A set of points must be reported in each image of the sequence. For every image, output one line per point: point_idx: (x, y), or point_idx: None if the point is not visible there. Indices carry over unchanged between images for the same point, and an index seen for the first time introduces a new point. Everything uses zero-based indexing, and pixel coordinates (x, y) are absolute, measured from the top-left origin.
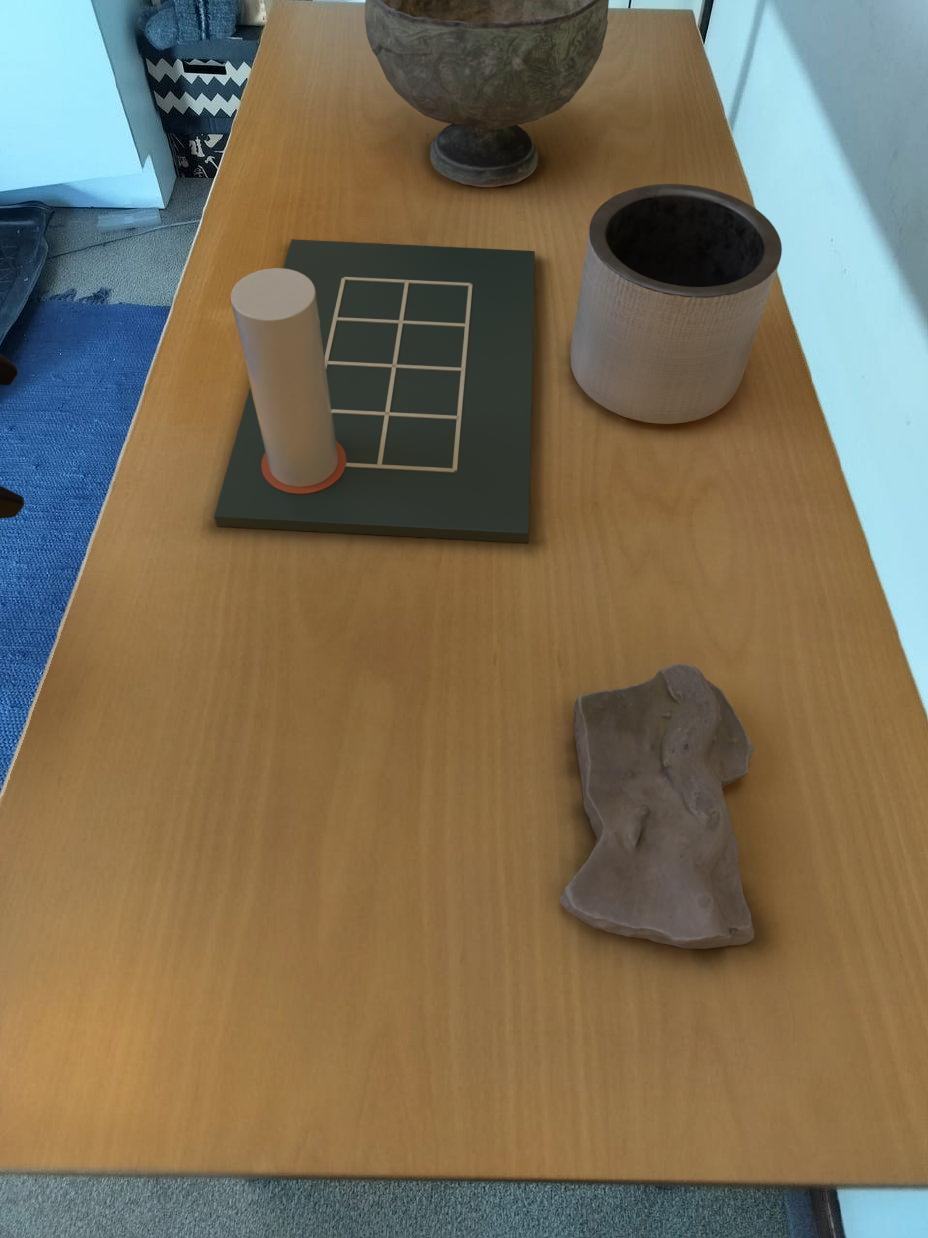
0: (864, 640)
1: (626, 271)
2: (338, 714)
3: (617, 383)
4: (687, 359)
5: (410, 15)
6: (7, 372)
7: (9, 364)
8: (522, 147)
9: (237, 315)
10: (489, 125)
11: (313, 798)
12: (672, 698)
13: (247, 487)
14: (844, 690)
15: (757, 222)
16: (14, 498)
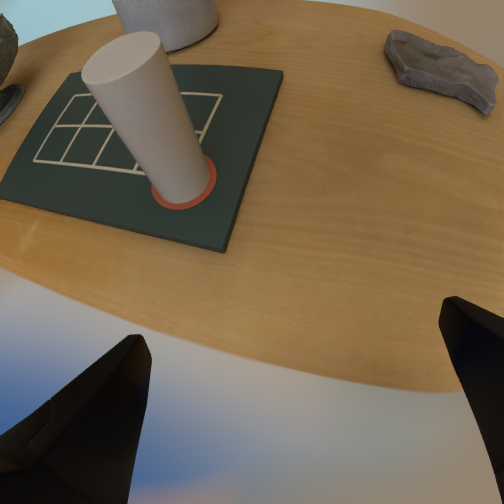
0: (350, 9)
1: None
2: (405, 183)
3: (195, 24)
4: None
5: None
6: (140, 349)
7: (129, 341)
8: (11, 86)
9: (128, 80)
10: (4, 76)
11: (455, 205)
12: (405, 42)
13: (197, 221)
14: (374, 19)
15: None
16: (462, 301)
